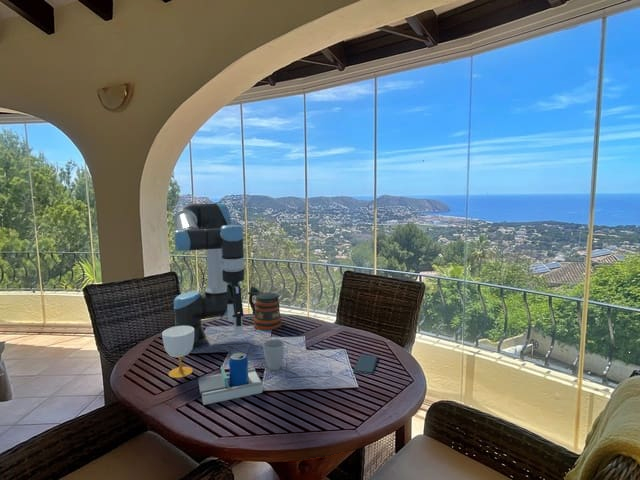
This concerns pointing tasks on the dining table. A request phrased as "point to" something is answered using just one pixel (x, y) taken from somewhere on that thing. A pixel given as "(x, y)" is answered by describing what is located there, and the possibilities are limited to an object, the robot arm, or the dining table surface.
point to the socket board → (234, 389)
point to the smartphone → (366, 364)
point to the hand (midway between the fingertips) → (235, 327)
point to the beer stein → (265, 309)
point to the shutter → (213, 382)
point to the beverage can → (238, 369)
